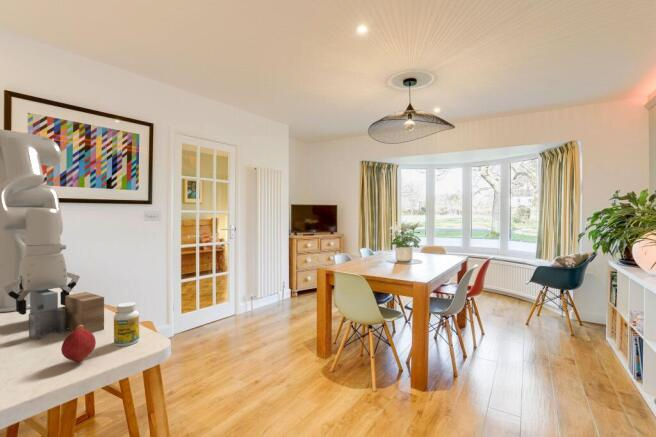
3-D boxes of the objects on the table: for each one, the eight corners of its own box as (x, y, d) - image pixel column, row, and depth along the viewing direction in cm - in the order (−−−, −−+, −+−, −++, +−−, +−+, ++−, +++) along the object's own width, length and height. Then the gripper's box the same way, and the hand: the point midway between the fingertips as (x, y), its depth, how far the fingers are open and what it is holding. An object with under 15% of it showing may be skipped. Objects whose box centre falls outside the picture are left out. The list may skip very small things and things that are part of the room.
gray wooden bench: (29, 336, 82) (28, 313, 82) (69, 326, 90) (68, 305, 90) (35, 339, 81) (35, 316, 80) (75, 329, 88) (75, 307, 88)
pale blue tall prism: (25, 321, 94) (25, 290, 94) (43, 317, 97) (42, 288, 97) (40, 328, 89) (39, 295, 89) (57, 323, 92) (57, 292, 92)
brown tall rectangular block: (65, 328, 89) (65, 295, 89) (86, 322, 93) (86, 291, 93) (83, 335, 84) (82, 301, 84) (104, 329, 88) (104, 296, 88)
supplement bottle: (138, 336, 84) (138, 300, 83) (139, 343, 79) (139, 305, 79) (113, 341, 81) (113, 303, 81) (113, 348, 76) (113, 308, 76)
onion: (68, 371, 65) (68, 332, 65) (56, 363, 69) (56, 326, 68) (100, 360, 70) (100, 324, 70) (88, 353, 73) (88, 319, 73)
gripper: (72, 247, 102) (73, 300, 103) (-3, 252, 87) (-2, 315, 87) (84, 248, 99) (84, 303, 99) (7, 254, 84) (8, 320, 84)
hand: (44, 309), depth 93 cm, fingers open, 9 cm apart
